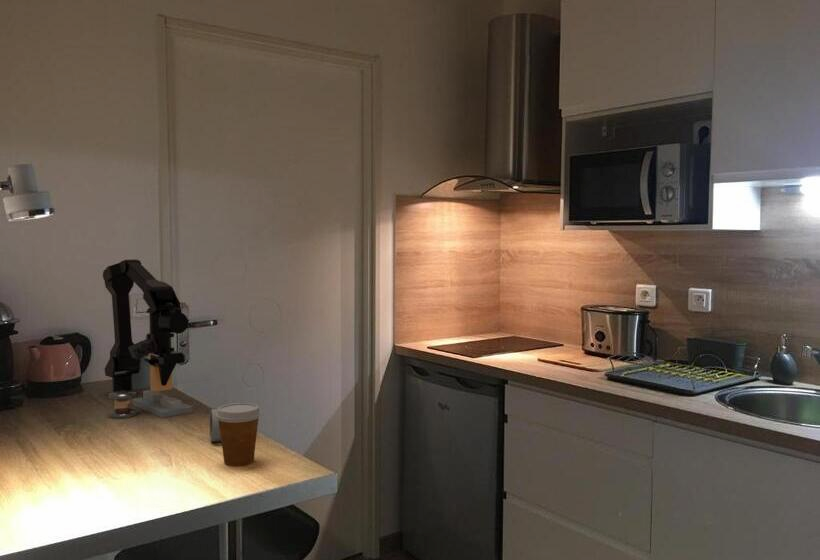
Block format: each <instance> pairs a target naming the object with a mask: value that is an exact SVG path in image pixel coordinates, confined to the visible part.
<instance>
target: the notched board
mask: <svg viewBox="0 0 820 560" xmlns="http://www.w3.org/2000/svg"><path fill="white" fill-rule="evenodd" d="M142 395H143V397H138V398H133V399H132V401H131V402H132V404H131V405H133V406H134V407H137V408H139V409H141V410H144V411H146V412H149V413H150V414H152V415H154V416H157V417H159V418H161V419H163V418H168V417H174V416H179V415H185V414H190V413H194V407H193V406H192V405H189V404H186V403H184V402H183V401H182V400H180V399H178V398H175V397H172V396H167V395H165V394H164V393H163V392H161V391H157V392H154V391H152V390H150V389H148V390H143V391H142Z"/></svg>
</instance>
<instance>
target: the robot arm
mask: <svg viewBox="0 0 820 560" xmlns="http://www.w3.org/2000/svg"><path fill="white" fill-rule="evenodd" d="M102 278H103V281H104V286H105V288H106V290H107V291H108V293H109V294H110V295H111V303H112V305H111V306H112V318H113V319H112V320H113V330H114V331H113V332H114V344H113V346H112V347H111V349H110V352H109V359H108V361H107V363H106V365H105V367H104V373H105V374H104V375H105V376H106V377H109V378H112V381H111V382H112V383H111V385H112V386H111V387H112V391H109V392H108V395H109V393H111V392H115V391H124V390H130V391H134V389H133V385H132V374H139V370H140V363H141V358H143V357H144V356H146V355H147V359H144V360H145V361H146V362H148V363H149V364H150V365H156V366H158V367H159V371H160V378H161V384H162V386H165V385H166V384H167V382H168V380H169V378H170V375H171V373H172V374H173V371H174V369H175V368H176V366H177V364H182V363H186V355H185V353H183V352H181V351H178V350H175V347H172V338H174V337H175V334H183V333H184V332H185V331H186V330H187V329H188V328H189V327H188V326H189V319H188V316H187V315H185V313H183V312H182V307H181V302H180V300H179V298H178V296H177V293H176V291H175V290H174V288H173V287H172V285H170V284H169V283H167V282H165V281H161V280H158V279H157V278H156V277H154V275H153V274H151V273H150V271H148V269H146V268H145V266H143V264H142V261H140V260H139V259H135V258H134V259H123V260H121V261H120V262H118V263H114V264H112V265H108V266H107V267H106V268H105V269H104V270H103V272H102ZM134 284H135V285H136V286H137V287H138V288H139V289H140V290H141V291H142V292H143V295H142V298H143V300H144V301H145V304H146V305H147V307H148V308H147V310H146V313H147V314H149V333H146V334H145V335H146V336H145V339H144V340H140V341H139V342H137V343H134V342H133V335H132V333H133V332H132V320H131V307H130V304H131V303H130V293H131V290H132V289H133V287H134ZM137 394H138V392H136V395H137Z"/></svg>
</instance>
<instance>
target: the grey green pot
mask: <svg viewBox="0 0 820 560" xmlns="http://www.w3.org/2000/svg"><path fill="white" fill-rule="evenodd" d="M144 359H147V355H146V356H144V357H143V358H141V363H140V370H139V374H132V385H133V390H147V389H148V390H150V364H149V363H148V362H146V361H145V360H144Z"/></svg>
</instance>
